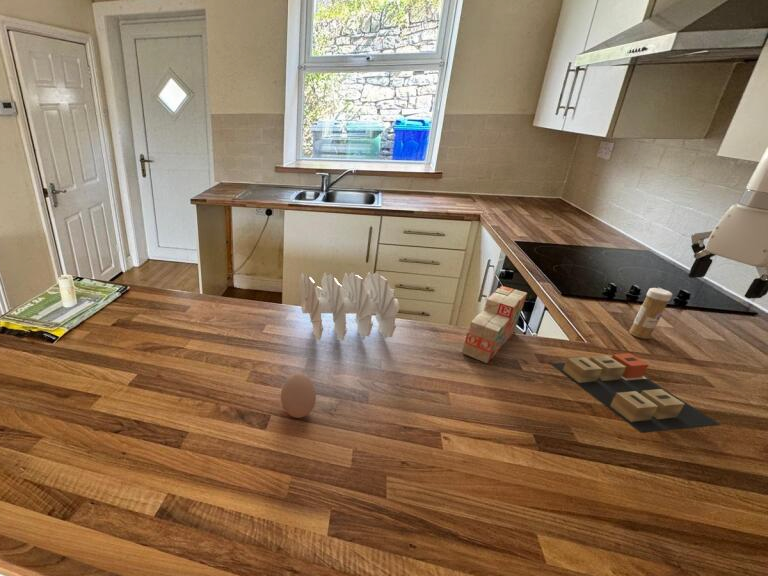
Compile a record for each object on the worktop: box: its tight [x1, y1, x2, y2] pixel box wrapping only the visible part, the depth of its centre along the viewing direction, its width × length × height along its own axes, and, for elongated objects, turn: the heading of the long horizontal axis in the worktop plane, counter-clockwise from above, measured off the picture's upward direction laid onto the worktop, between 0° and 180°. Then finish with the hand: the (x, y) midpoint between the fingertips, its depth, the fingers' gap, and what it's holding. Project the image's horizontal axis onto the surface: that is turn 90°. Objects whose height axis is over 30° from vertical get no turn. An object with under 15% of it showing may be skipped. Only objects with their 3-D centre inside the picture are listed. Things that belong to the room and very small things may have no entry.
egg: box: [280, 372, 317, 419], centre depth 78 cm, size 7×7×10 cm
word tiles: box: [563, 354, 684, 422], centre depth 86 cm, size 10×16×4 cm, turn 7°
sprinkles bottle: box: [628, 287, 673, 340], centre depth 107 cm, size 5×5×14 cm
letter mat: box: [550, 362, 722, 434], centre depth 87 cm, size 18×22×1 cm
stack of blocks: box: [461, 285, 528, 364], centre depth 102 cm, size 21×6×12 cm, turn 135°
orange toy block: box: [611, 352, 650, 378], centre depth 92 cm, size 4×4×4 cm
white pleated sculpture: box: [298, 270, 400, 342], centre depth 104 cm, size 18×18×25 cm
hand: (722, 286), depth 80 cm, fingers open, 9 cm apart
